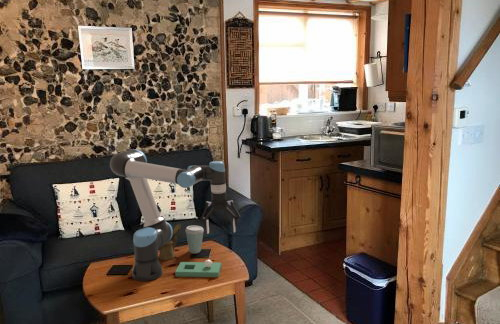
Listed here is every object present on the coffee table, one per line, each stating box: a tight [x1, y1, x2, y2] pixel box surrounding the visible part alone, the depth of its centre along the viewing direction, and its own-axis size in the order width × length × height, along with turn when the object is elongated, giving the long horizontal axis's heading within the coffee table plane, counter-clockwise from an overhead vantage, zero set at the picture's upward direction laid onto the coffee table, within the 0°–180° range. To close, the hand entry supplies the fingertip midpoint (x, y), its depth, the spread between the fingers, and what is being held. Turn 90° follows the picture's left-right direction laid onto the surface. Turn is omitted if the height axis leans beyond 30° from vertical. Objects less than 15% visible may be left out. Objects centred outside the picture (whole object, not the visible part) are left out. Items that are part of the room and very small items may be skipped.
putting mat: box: [174, 261, 222, 278], centre depth 214 cm, size 22×12×2 cm, turn 86°
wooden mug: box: [158, 223, 181, 261], centre depth 233 cm, size 9×14×18 cm, turn 123°
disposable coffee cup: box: [185, 225, 205, 254], centre depth 239 cm, size 11×11×15 cm
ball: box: [204, 259, 213, 268], centre depth 213 cm, size 4×4×4 cm
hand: (221, 232), depth 211 cm, fingers open, 13 cm apart
